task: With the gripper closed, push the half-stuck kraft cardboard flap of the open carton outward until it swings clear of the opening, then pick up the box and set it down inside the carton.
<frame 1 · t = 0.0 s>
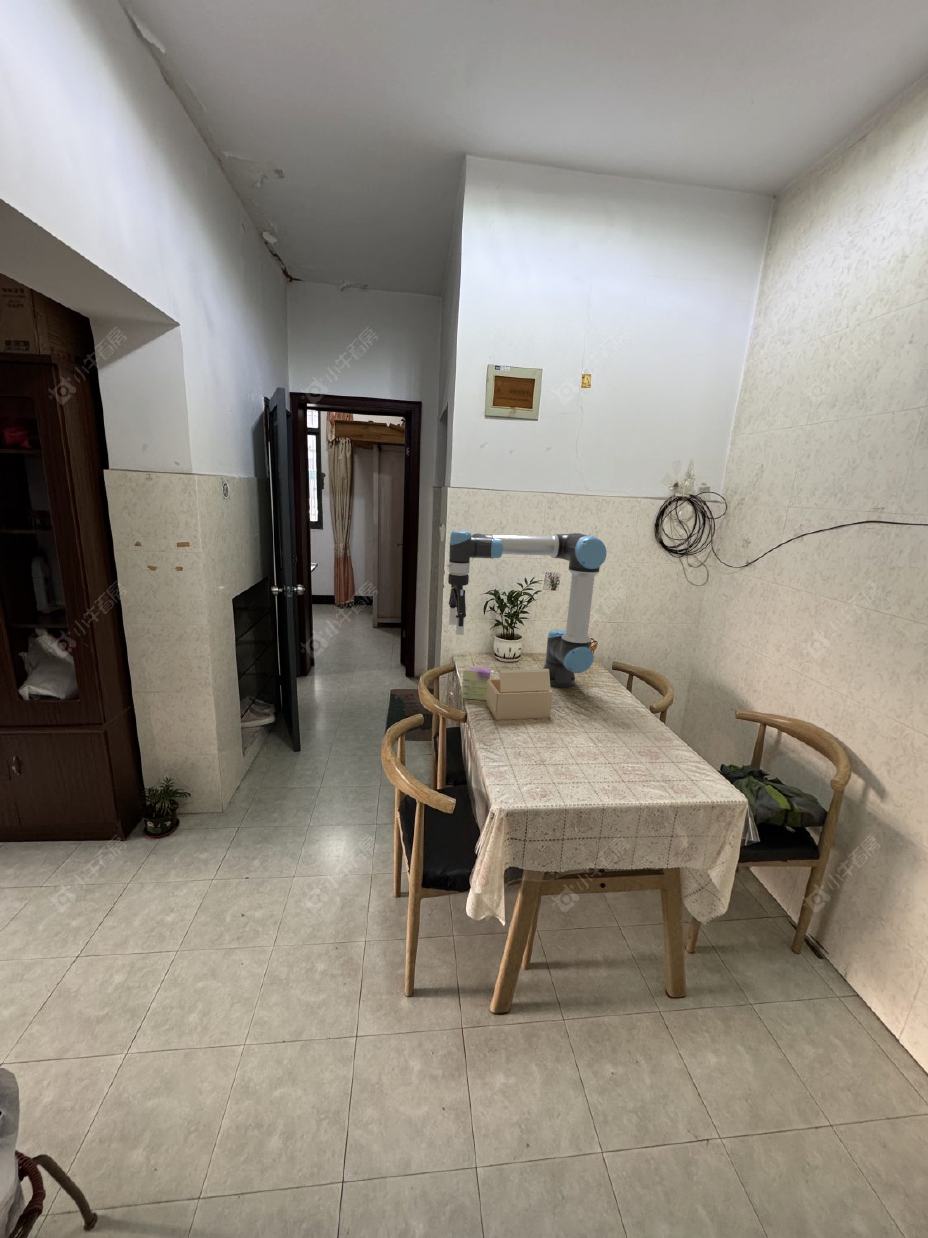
hand: (456, 629, 189), 28 cm above the table, fingers open, 13 cm apart
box: (475, 697, 198), on the table
carton: (517, 710, 188), on the table
flap: (525, 680, 179), point 14 cm above the table, hinge at 65.0°
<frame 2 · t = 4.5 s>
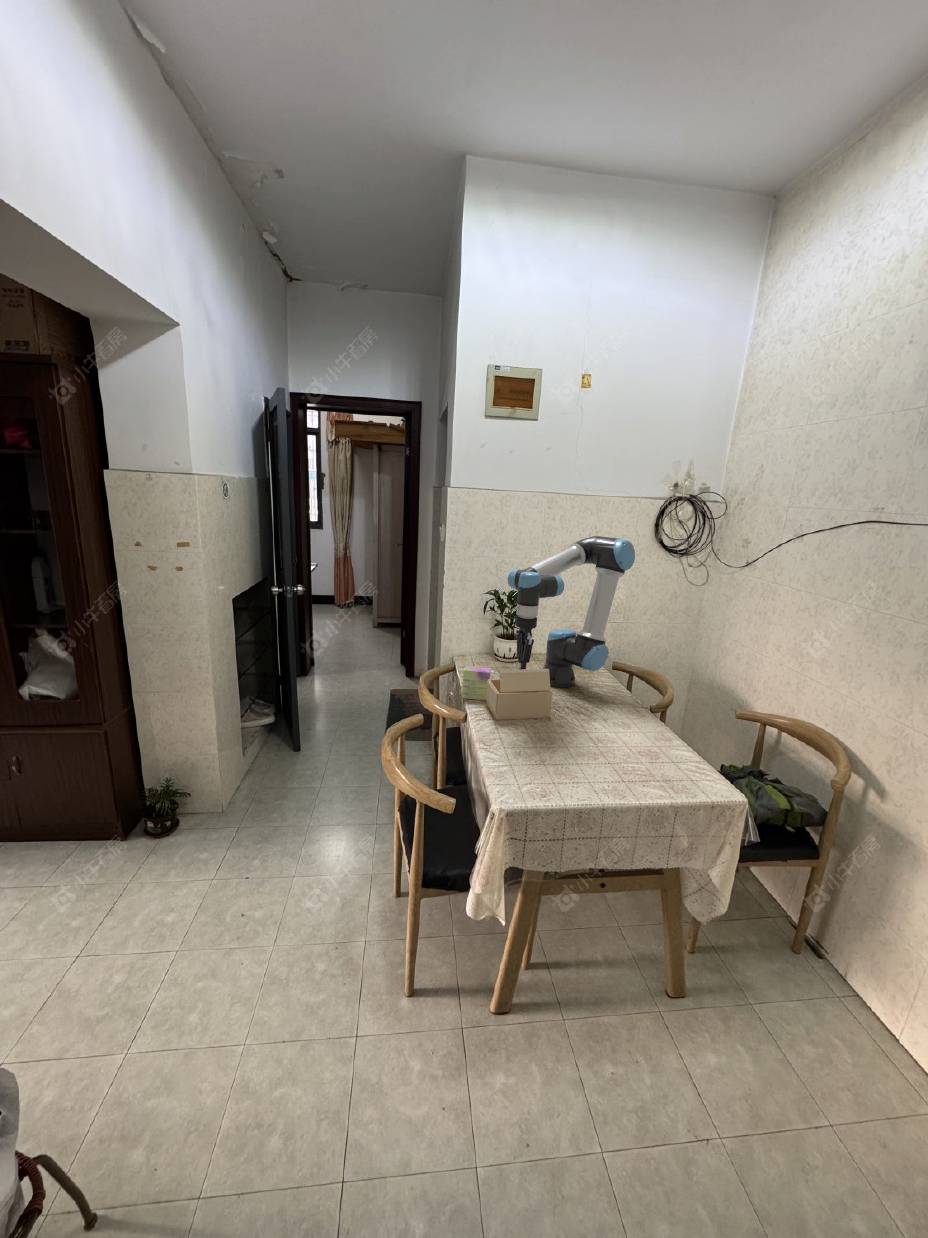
hand: (521, 678, 183), 14 cm above the table, fingers closed
flap: (525, 680, 179), point 14 cm above the table, hinge at 65.0°, touching gripper
everything else where it was.
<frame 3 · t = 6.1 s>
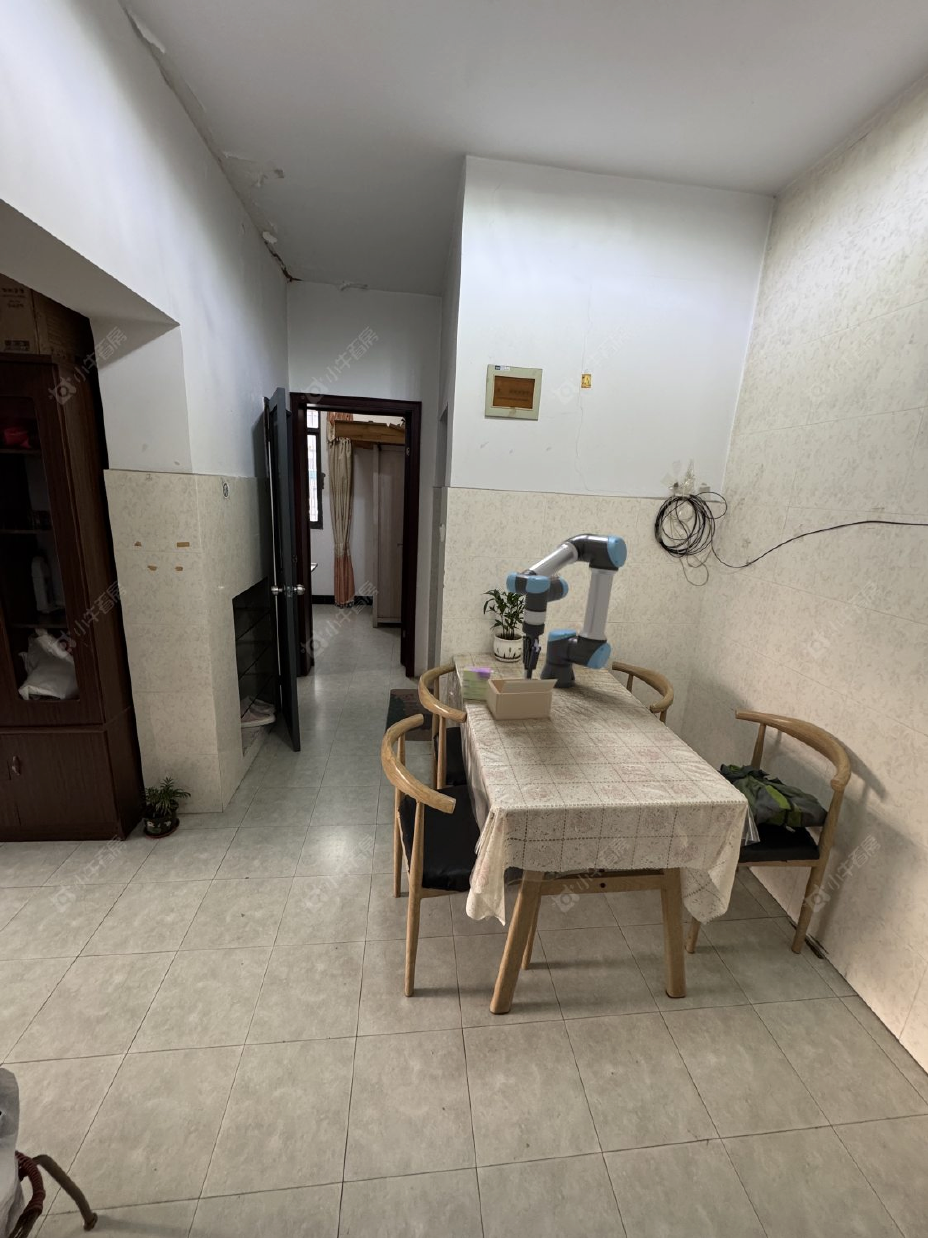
hand: (526, 685, 176), 14 cm above the table, fingers closed
flap: (529, 686, 175), point 14 cm above the table, hinge at 127.5°, touching gripper
everything else where it was.
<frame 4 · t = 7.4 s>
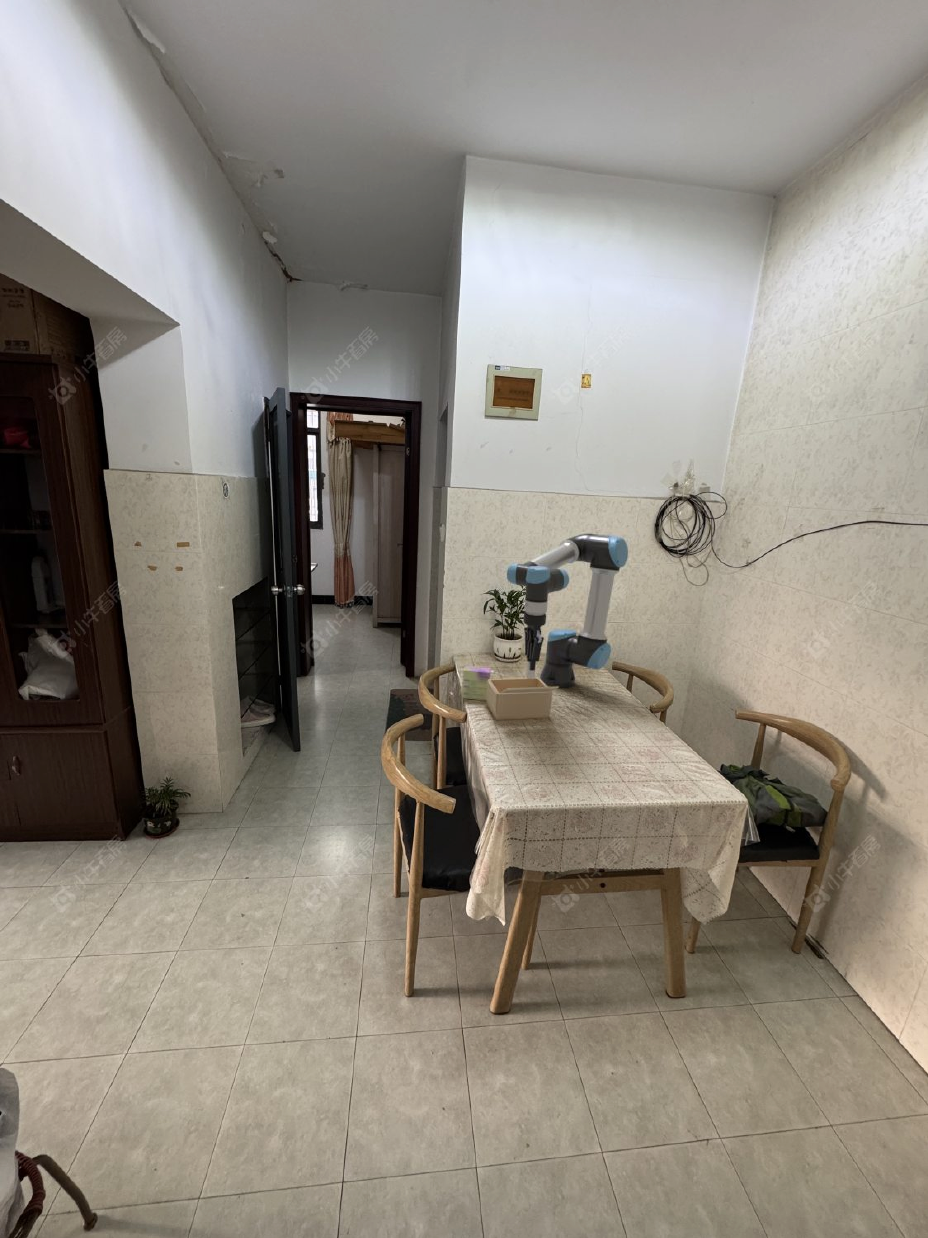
hand: (530, 677, 175), 17 cm above the table, fingers closed
flap: (529, 690, 174), point 13 cm above the table, hinge at 146.4°
everything else where it was.
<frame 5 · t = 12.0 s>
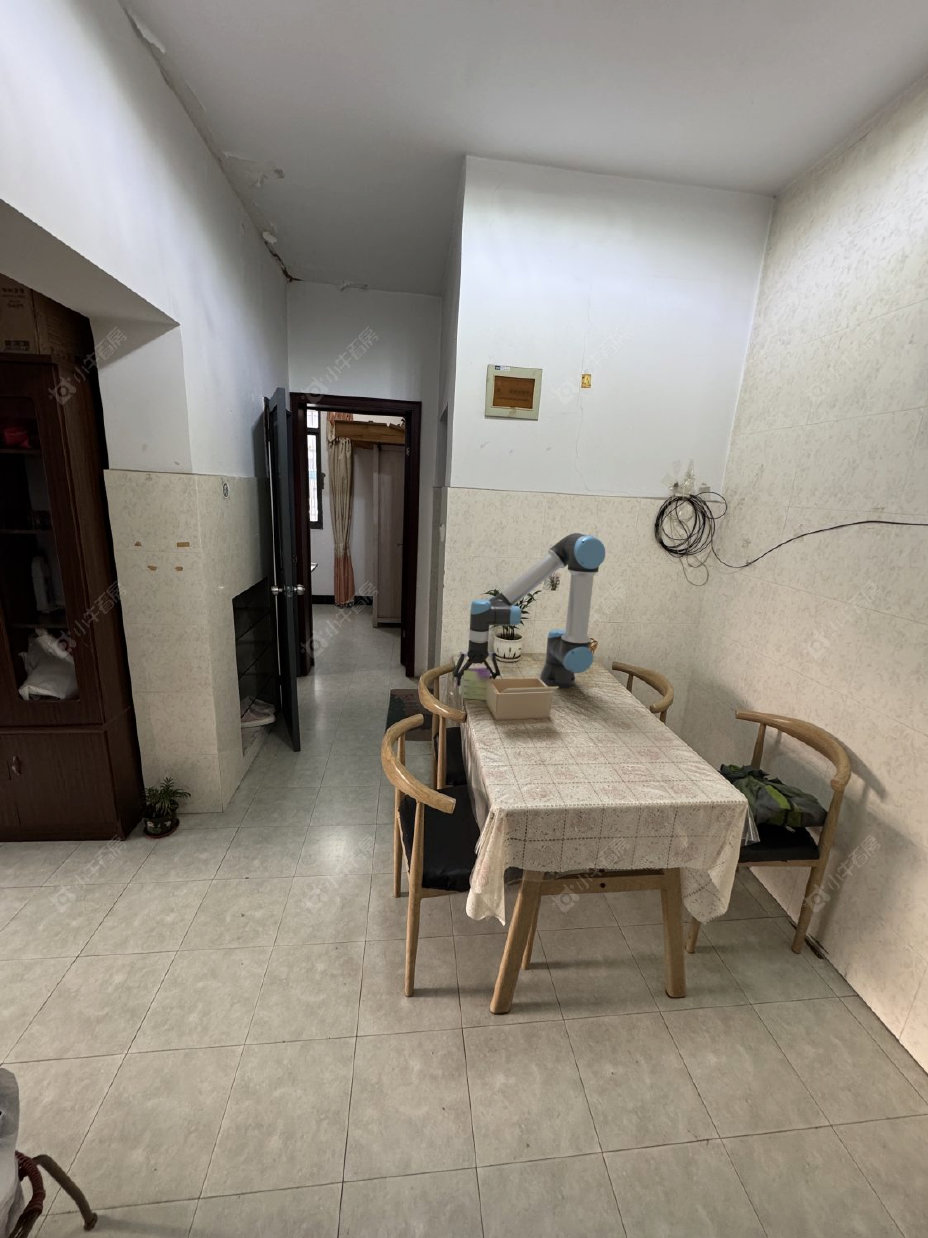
hand: (475, 692, 198), 2 cm above the table, fingers closed on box, 11 cm apart
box: (475, 697, 198), on the table, touching gripper
everything else where it was.
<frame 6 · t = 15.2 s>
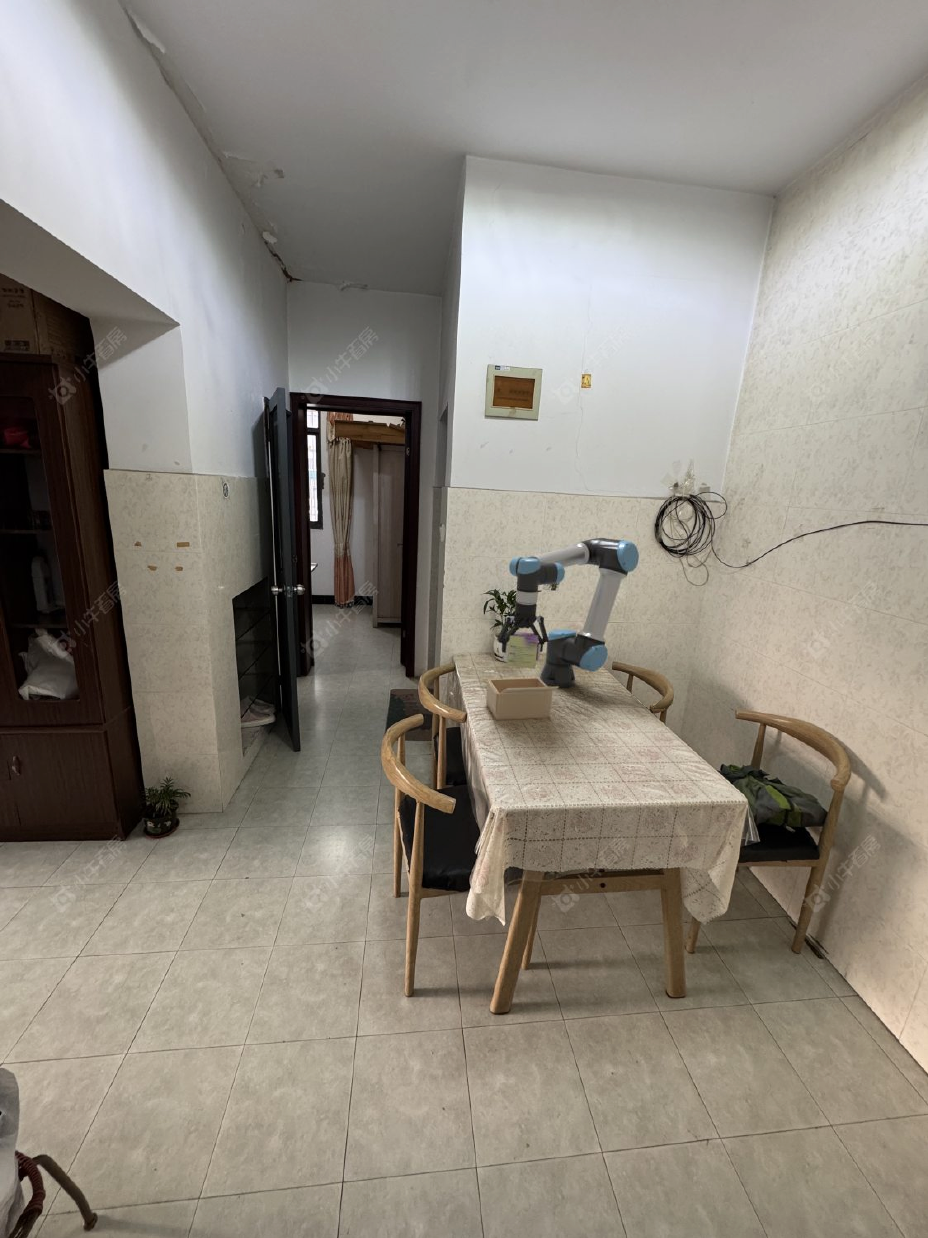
hand: (521, 660, 183), 20 cm above the table, fingers closed on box, 11 cm apart
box: (520, 665, 183), point 18 cm above the table, touching gripper
everything else where it was.
when the fingers open (4 cm above the table, at t = 18.6 s): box drops 2 cm, resting on carton.
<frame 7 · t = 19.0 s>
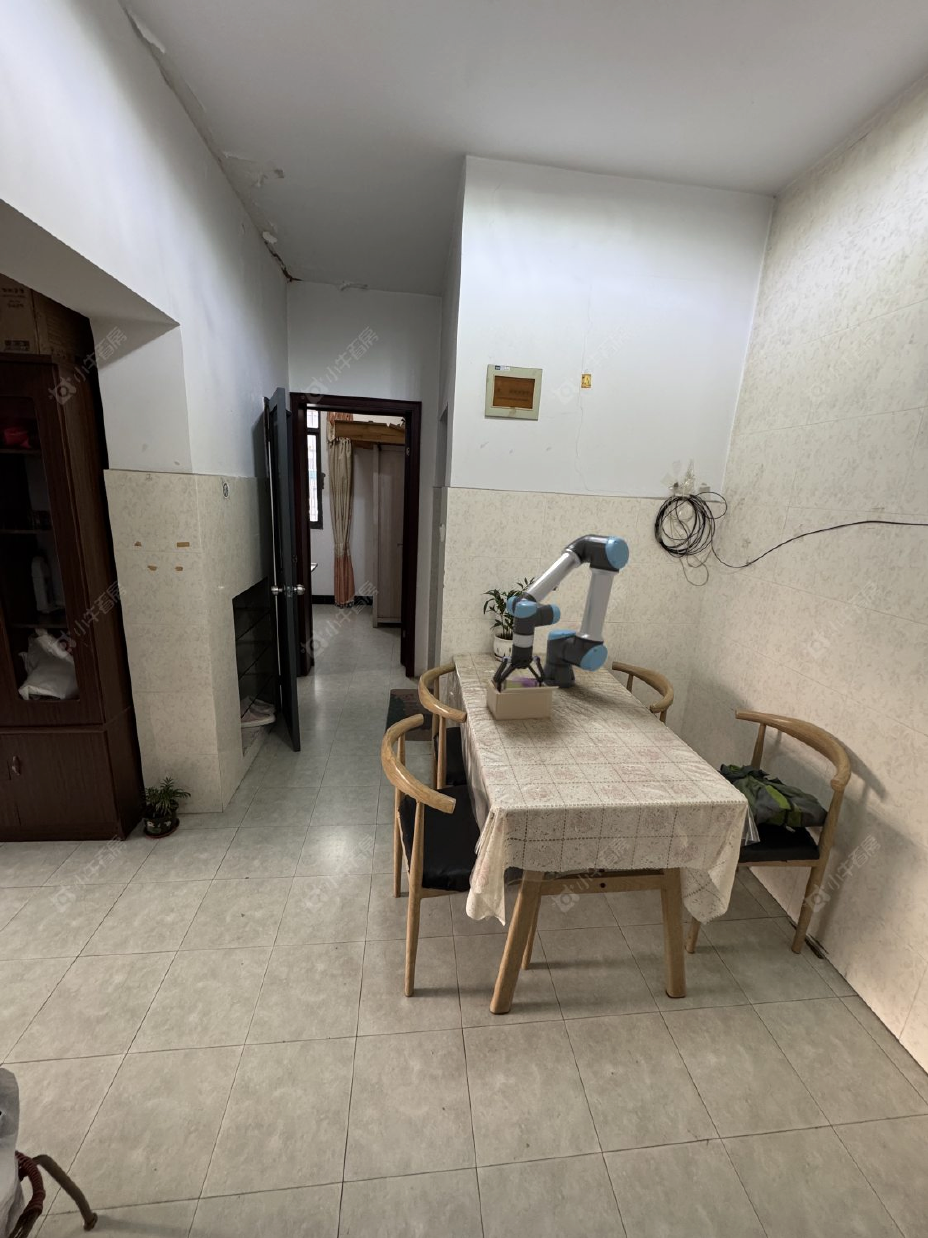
hand: (518, 698, 187), 5 cm above the table, fingers open, 13 cm apart
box: (518, 709, 188), resting on carton
everything else where it was.
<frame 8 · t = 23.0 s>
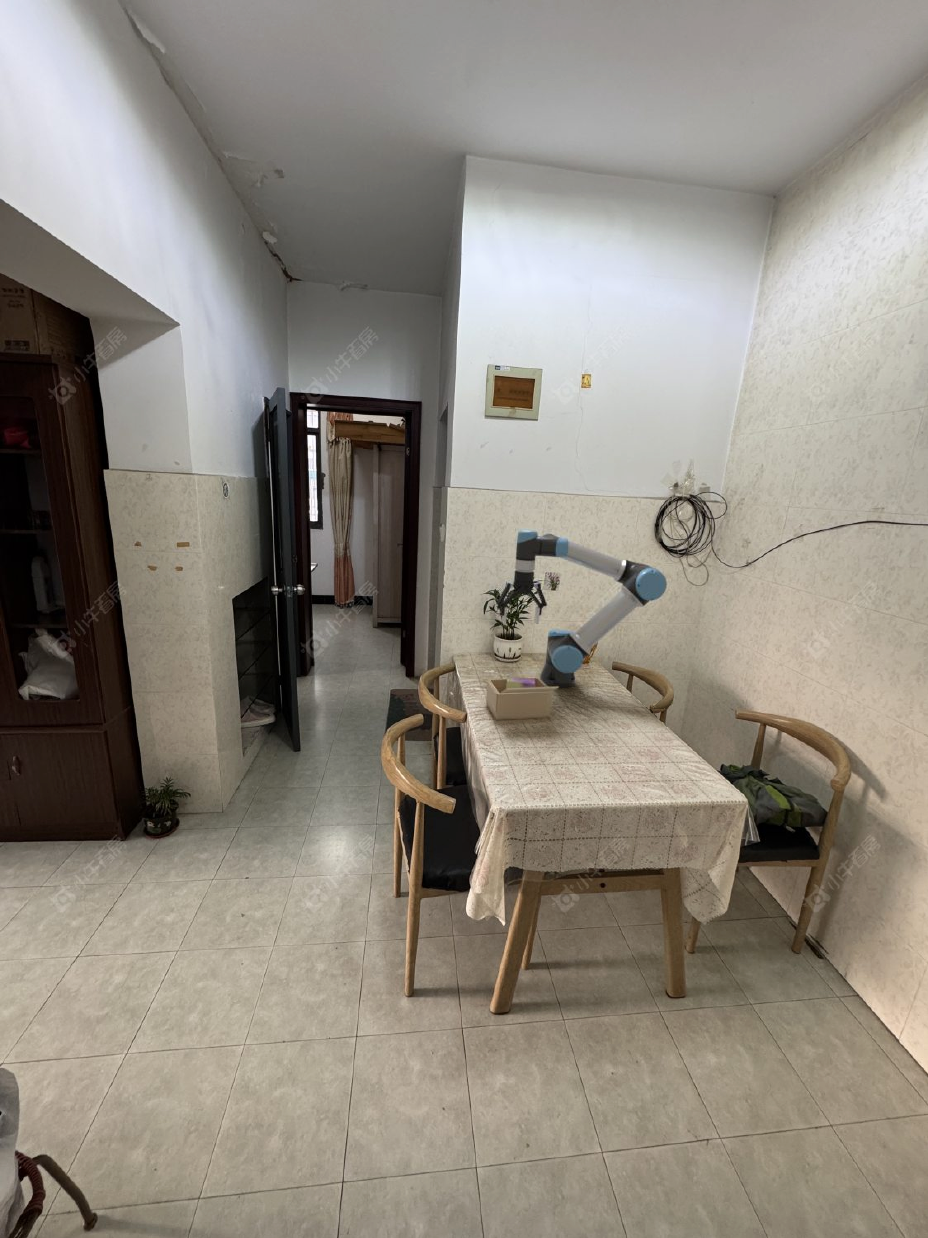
hand: (520, 623, 200), 29 cm above the table, fingers open, 13 cm apart
nothing on the table moved.
at the end: flap at +146° (first picture: +65°); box inside the target area on the carton (0.4 cm from its centre), point 0.4 cm above the carton's base; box tilted 0° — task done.
